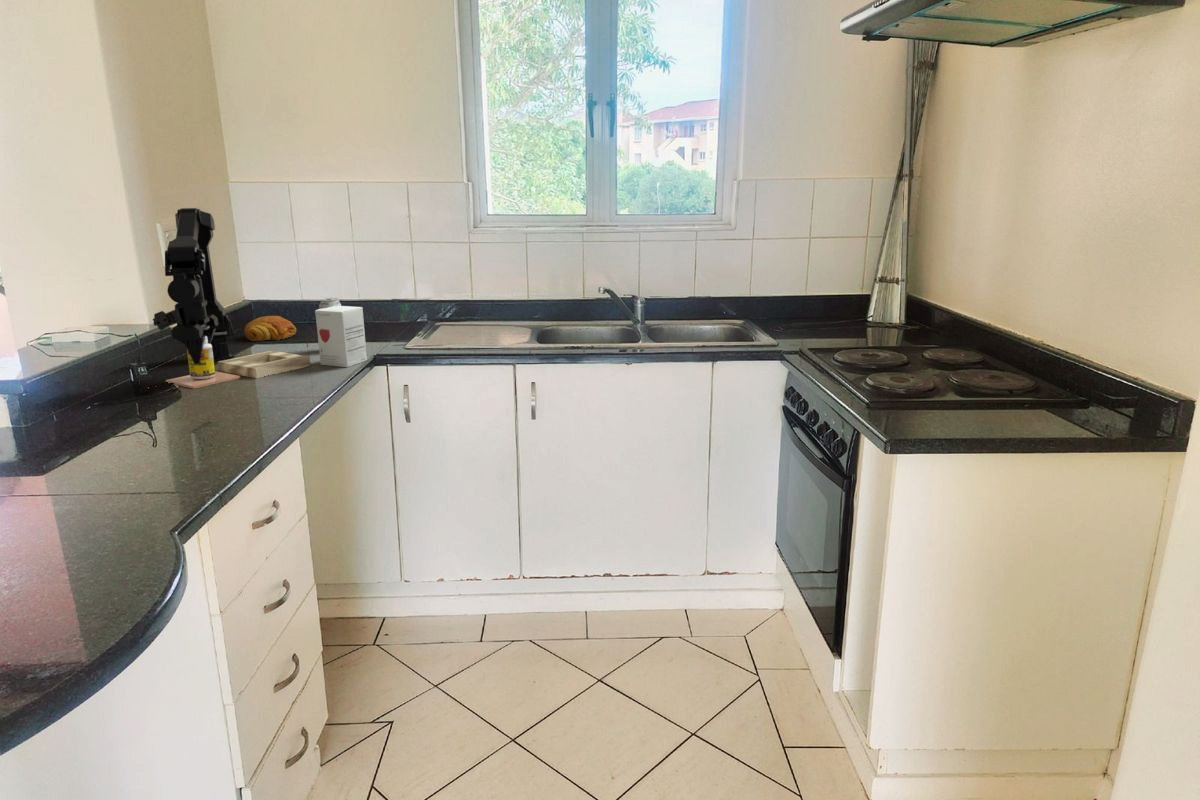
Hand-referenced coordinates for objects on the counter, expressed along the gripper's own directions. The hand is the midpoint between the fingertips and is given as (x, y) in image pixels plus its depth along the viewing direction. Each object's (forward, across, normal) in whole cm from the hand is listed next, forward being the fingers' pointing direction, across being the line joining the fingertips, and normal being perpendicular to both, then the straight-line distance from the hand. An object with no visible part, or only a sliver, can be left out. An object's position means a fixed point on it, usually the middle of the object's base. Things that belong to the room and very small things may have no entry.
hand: (200, 360), depth 189 cm
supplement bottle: (+4, 0, 0) cm, 4 cm away
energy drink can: (+5, -30, +28) cm, 41 cm away
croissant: (+6, -56, +6) cm, 57 cm away
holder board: (+5, -10, +13) cm, 17 cm away
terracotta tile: (+5, 0, 0) cm, 5 cm away
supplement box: (+5, -11, +32) cm, 35 cm away
